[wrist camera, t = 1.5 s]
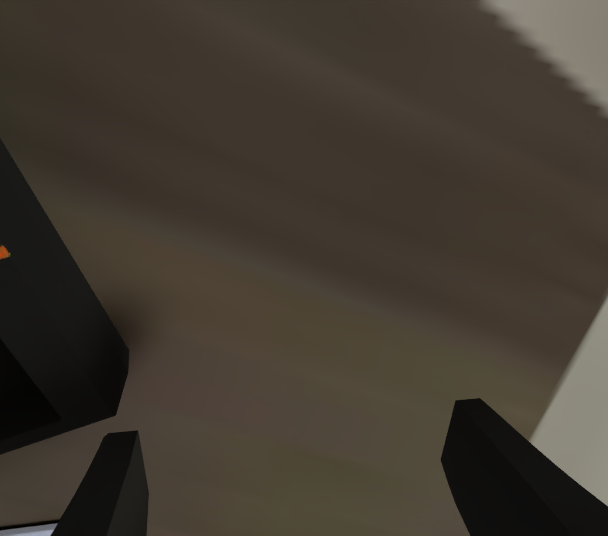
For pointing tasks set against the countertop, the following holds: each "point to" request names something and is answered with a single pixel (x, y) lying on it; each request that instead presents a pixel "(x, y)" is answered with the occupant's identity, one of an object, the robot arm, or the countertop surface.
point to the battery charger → (49, 328)
